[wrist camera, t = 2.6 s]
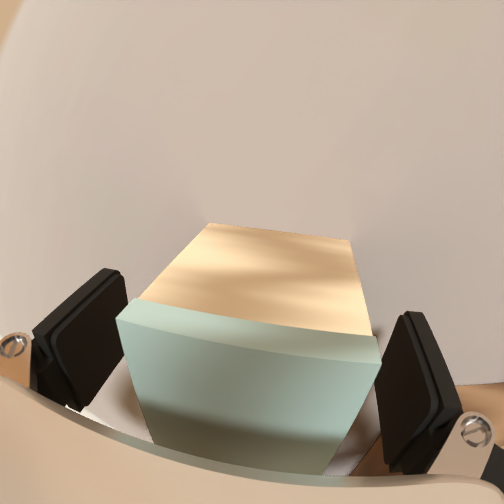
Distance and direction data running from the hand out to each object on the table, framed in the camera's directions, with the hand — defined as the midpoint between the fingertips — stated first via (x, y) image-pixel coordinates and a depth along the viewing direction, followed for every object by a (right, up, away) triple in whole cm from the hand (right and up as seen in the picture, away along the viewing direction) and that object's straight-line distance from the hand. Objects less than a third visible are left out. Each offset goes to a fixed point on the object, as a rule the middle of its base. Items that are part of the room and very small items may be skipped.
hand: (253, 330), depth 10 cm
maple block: (+1, +1, +2) cm, 2 cm away
